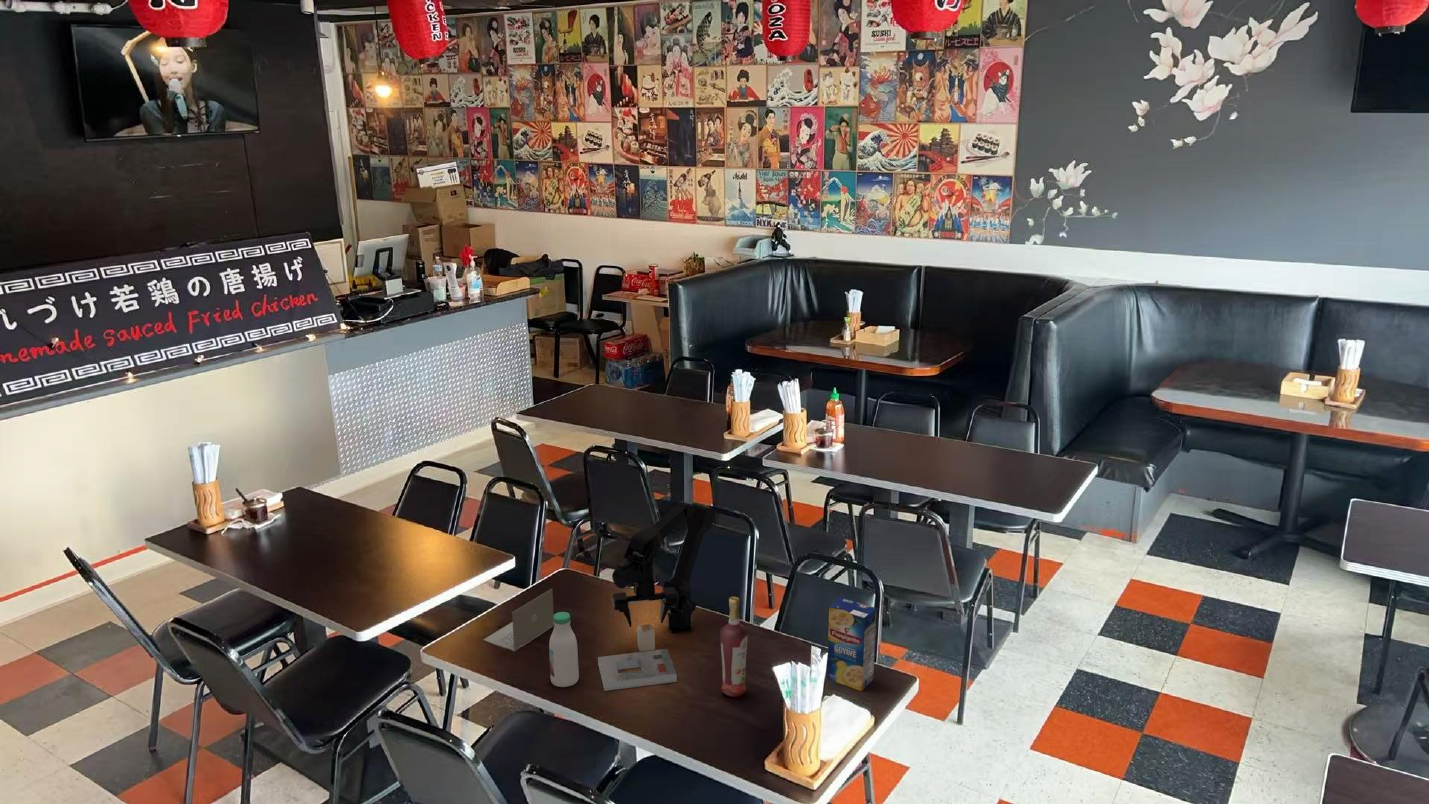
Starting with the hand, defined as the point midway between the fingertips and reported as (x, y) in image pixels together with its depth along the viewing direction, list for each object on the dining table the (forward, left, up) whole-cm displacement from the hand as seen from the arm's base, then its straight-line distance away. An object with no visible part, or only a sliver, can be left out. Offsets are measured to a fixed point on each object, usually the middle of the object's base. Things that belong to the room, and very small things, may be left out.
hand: (646, 624), depth 297 cm
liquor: (-19, +30, -7) cm, 36 cm away
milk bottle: (+25, +13, -7) cm, 29 cm away
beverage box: (-52, +31, -7) cm, 61 cm away
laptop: (+36, -17, -8) cm, 41 cm away
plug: (0, 0, -7) cm, 7 cm away
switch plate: (+5, +14, -7) cm, 17 cm away
